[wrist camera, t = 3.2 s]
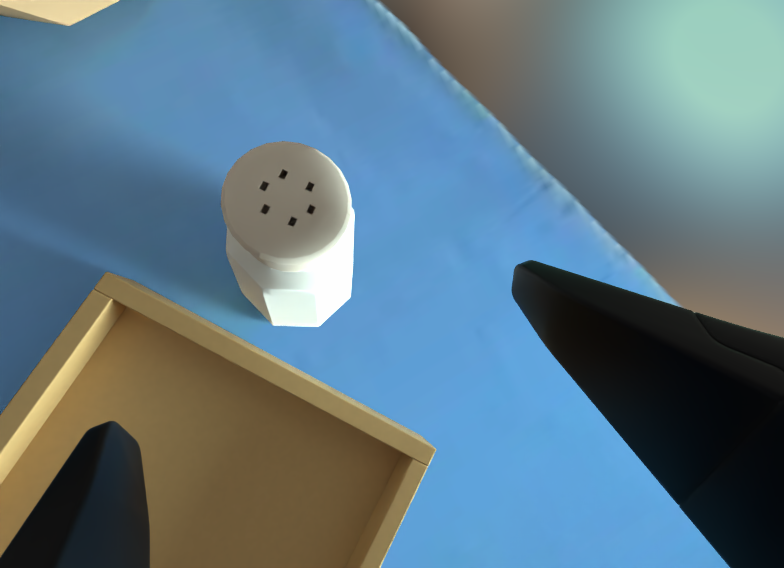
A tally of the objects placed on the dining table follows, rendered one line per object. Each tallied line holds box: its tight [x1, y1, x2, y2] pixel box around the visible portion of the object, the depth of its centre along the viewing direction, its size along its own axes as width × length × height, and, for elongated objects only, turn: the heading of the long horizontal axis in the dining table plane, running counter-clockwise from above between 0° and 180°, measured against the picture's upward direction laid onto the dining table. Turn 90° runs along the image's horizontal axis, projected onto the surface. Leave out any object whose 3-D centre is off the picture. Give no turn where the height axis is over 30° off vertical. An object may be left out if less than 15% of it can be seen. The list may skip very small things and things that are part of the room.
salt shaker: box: [221, 141, 354, 327], centre depth 14 cm, size 5×5×11 cm
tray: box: [0, 272, 436, 568], centre depth 16 cm, size 15×15×2 cm
